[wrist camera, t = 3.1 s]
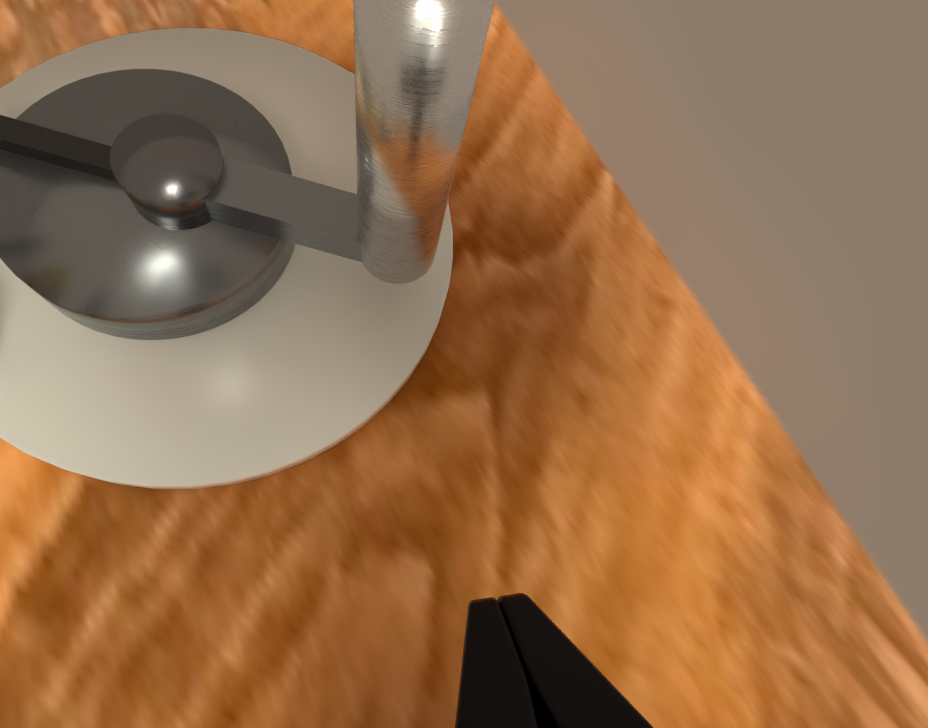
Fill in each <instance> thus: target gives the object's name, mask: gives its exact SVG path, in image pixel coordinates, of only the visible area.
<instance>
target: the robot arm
mask: <svg viewBox="0 0 928 728" xmlns="http://www.w3.org/2000/svg"><path fill="white" fill-rule="evenodd" d="M455 728H653V727H652V726H651V725H650V723H649V722H648V721H647V720H646V719H645V718H644V717H643V716H642V715H641V714H640V713H639V712H638V711H637V710H636V709H635V708H634V707H633V706H632V705H631V704H630V702H629V701H628V700H627V699H626V698H625V697H624V696H623V695H622V694H621V693H620V692H619V691H618V690H617V689H616V688H615V687H614V686H613V685H612V684H611V683H610V682H609V680H608V679H607V678H606V677H605V676H604V675H603V674H602V673H601V672H600V671H599V670H598V669H597V668H596V667H595V666H594V665H593V664H592V663H591V662H590V661H589V659H588V658H587V657H586V656H585V655H584V654H583V653H582V652H581V651H580V650H579V649H578V648H577V647H576V646H575V645H574V644H573V643H572V642H571V641H570V640H569V638H568V637H567V636H566V635H565V634H564V633H563V632H562V631H561V630H560V629H559V628H558V627H557V626H556V625H555V624H554V623H553V622H552V621H551V620H550V619H549V617H548V616H547V615H546V614H545V613H544V612H543V611H542V610H541V609H540V608H539V607H538V606H537V605H536V604H535V603H534V602H533V601H532V600H531V599H530V598H529V597H528V596H527V595H525V594H523V593H518V594H511V595H505V596H501V597H499V598H498V600H496V599H495V598H492V597H491V598H484V599H477V600H472V601H470V603H469V605H468V613H467V622H466V631H465V640H464V649H463V659H462V668H461V677H460V686H459V695H458V704H457V713H456V723H455Z"/></svg>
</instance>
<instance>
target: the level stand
mask: <svg viewBox="0 0 928 728" xmlns="http://www.w3.org/2000/svg"><path fill="white" fill-rule="evenodd" d="M128 69H161V70H170V71H177V72H182V73H186V74H191V75H195V76H198V77H201V78H204V79H207V80H210V81H212V82H215V83H217V84H219V85H221V86H224V87H226V88H227V89H229V90H231V91H233V92H234V93H236V94H238V95H239V96H241V97H242V98H244V99H245V100H246V101H248V102H249V103H250V104H252V105H253V106H254V107H255V108H256V109H257V110H258V111H259V112H260V113H261V114H262V115H263V116H264V117H265V118H266V119H267V120H268V122H269V123H270V124H271V125H272V127H273V128H274V129H275V131H276V133H277V134H278V136H279V138H280V140H281V141H282V143H283V146H284V148H285V151H286V153H287V156H288V159H289V163H290V167H291V172H292V176H295V177H299V178H302V179H306V180H309V181H313V182H316V183H320V184H323V185H327V186H330V187H334V188H337V189H341V190H344V191H348V192H351V193H354V194H357V166H356V111H355V75H354V74H353V73H351V72H349V71H348V70H346V69H344V68H342V67H341V66H339V65H337V64H336V63H334V62H332V61H330V60H328V59H326V58H324V57H322V56H319V55H317V54H315V53H313V52H310V51H308V50H306V49H304V48H301V47H298V46H295V45H292V44H289V43H286V42H282V41H279V40H276V39H273V38H268V37H264V36H259V35H255V34H250V33H245V32H238V31H230V30H221V29H210V28H174V29H160V30H148V31H143V32H137V33H131V34H125V35H120V36H115V37H112V38H108V39H104V40H101V41H97V42H94V43H90V44H86V45H84V46H81V47H78V48H76V49H73V50H71V51H68V52H66V53H63V54H61V55H58V56H55V57H53V58H51V59H50V60H48V61H46V62H44V63H42V64H40V65H38V66H36V67H34V68H32V69H30V70H28V71H26V72H25V73H23V74H22V75H20V76H19V77H17V78H16V79H14V80H13V81H11V82H10V83H8V84H7V85H5V86H4V87H2V88H1V89H0V115H3V116H6V117H10V118H13V119H16V118H17V117H18V116H19V115H21V114H22V113H23V112H24V111H25V110H26V109H27V108H28V107H30V106H31V105H32V104H34V103H35V102H37V101H38V100H40V99H41V98H43V97H44V96H46V95H47V94H49V93H51V92H53V91H55V90H57V89H59V88H60V87H62V86H65V85H67V84H70V83H72V82H75V81H77V80H80V79H83V78H86V77H90V76H93V75H97V74H101V73H106V72H112V71H117V70H128ZM452 262H453V229H452V223H451V216H450V210H449V204H448V203H447V207H446V211H445V215H444V220H443V224H442V228H441V233H440V237H439V241H438V245H437V250H436V254H435V258H434V261H433V264H432V266H431V268H430V269H429V270H428V272H427V273H426V274H425V275H423V276H422V277H421V278H419V279H417V280H415V281H413V282H409V283H404V284H393V283H388V282H384V281H382V280H380V279H378V278H376V277H374V276H373V275H372V274H370V273H369V272H368V271H367V270H366V268H365V267H364V266H363V264H362V262H359V261H356V260H352V259H348V258H345V257H341V256H338V255H334V254H330V253H327V252H323V251H320V250H316V249H313V248H309V247H305V246H302V245H298V244H295V248H294V251H293V253H292V256H291V258H290V261H289V263H288V265H287V267H286V268H285V270H284V272H283V274H282V275H281V277H280V278H279V280H278V281H277V282H276V283H275V285H274V286H273V287H272V289H271V290H270V291H269V292H268V293H267V294H266V295H265V296H264V297H263V298H262V299H261V300H260V301H259V302H257V303H256V304H255V305H254V306H252V307H251V308H250V309H248V310H247V311H246V312H244V313H243V314H241V315H239V316H238V317H236V318H234V319H232V320H231V321H229V322H227V323H225V324H222V325H220V326H218V327H216V328H213V329H211V330H208V331H205V332H201V333H198V334H195V335H191V336H186V337H181V338H175V339H165V340H134V339H128V338H121V337H115V336H111V335H108V334H104V333H101V332H97V331H95V330H92V329H90V328H88V327H85V326H83V325H81V324H79V323H77V322H75V321H74V320H72V319H70V318H69V317H67V316H65V315H64V314H62V313H61V312H60V311H59V310H57V309H56V308H55V307H54V306H52V305H51V304H50V303H49V302H47V301H46V300H45V299H44V298H43V297H41V296H40V295H39V294H38V293H36V292H35V291H34V290H33V289H32V288H30V287H29V286H28V285H27V284H25V283H24V282H23V281H22V280H21V279H19V278H18V277H17V276H16V275H15V274H14V273H13V272H12V271H11V270H10V269H9V268H8V267H7V266H6V265H5V263H4V262H3V261H2V260H1V258H0V438H1V439H3V440H4V441H6V442H8V443H9V444H11V445H13V446H14V447H16V448H18V449H19V450H21V451H23V452H24V453H26V454H28V455H31V456H33V457H35V458H38V459H40V460H42V461H45V462H47V463H50V464H52V465H54V466H57V467H59V468H62V469H64V470H67V471H71V472H74V473H77V474H81V475H84V476H88V477H92V478H95V479H99V480H103V481H107V482H111V483H114V484H118V485H126V486H133V487H141V488H149V489H157V490H196V489H204V488H212V487H220V486H228V485H235V484H239V483H243V482H247V481H251V480H255V479H259V478H263V477H267V476H271V475H273V474H276V473H278V472H281V471H284V470H286V469H289V468H291V467H294V466H297V465H299V464H302V463H304V462H306V461H308V460H310V459H312V458H314V457H316V456H318V455H319V454H321V453H323V452H325V451H327V450H329V449H331V448H333V447H334V446H336V445H338V444H339V443H340V442H342V441H343V440H345V439H346V438H348V437H349V436H350V435H352V434H353V433H355V432H356V431H357V430H359V429H360V428H362V427H363V426H364V425H366V424H367V423H368V422H369V421H370V420H371V419H372V418H373V417H374V416H375V415H376V414H378V413H379V412H380V411H381V410H382V409H383V408H384V407H385V406H386V405H387V404H388V403H389V402H390V401H391V400H392V399H393V398H394V396H395V395H396V394H397V393H398V392H399V390H400V389H401V388H402V387H403V386H404V384H405V383H406V382H407V381H408V380H409V378H410V377H411V375H412V373H413V372H414V370H415V369H416V367H417V366H418V364H419V362H420V361H421V359H422V358H423V356H424V354H425V353H426V350H427V348H428V346H429V344H430V341H431V339H432V337H433V335H434V333H435V330H436V328H437V326H438V322H439V319H440V316H441V313H442V309H443V306H444V302H445V299H446V295H447V292H448V288H449V284H450V276H451V269H452Z"/></svg>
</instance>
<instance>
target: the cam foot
mask: <svg viewBox="0 0 928 728" xmlns="http://www.w3.org/2000/svg"><path fill="white" fill-rule="evenodd" d="M353 2H354V56H355V111H356V166H357V194H354V193H351V192H348V191H344V190H341V189H337V188H334V187H330V186H327V185H323V184H320V183H316V182H313V181H309V180H306V179H302V178H299V177H295V176H292V172H291V167H290V163H289V159H288V156H287V153H286V151H285V148H284V146H283V143H282V141H281V140H280V138H279V136H278V134H277V133H276V131H275V129H274V128H273V127H272V125H271V124H270V123H269V122H268V120H267V119H266V118H265V117H264V116H263V115H262V114H261V113H260V112H259V111H258V110H257V109H256V108H255V107H254V106H253V105H252V104H250V103H249V102H248V101H246V100H245V99H244V98H242V97H241V96H239V95H238V94H236V93H234V92H233V91H231V90H229V89H227V88H226V87H224V86H221V85H219V84H217V83H215V82H212V81H210V80H207V79H204V78H201V77H198V76H195V75H191V74H186V73H182V72H177V71H170V70H161V69H128V70H117V71H112V72H106V73H101V74H97V75H93V76H90V77H86V78H83V79H80V80H77V81H75V82H72V83H70V84H67V85H65V86H62V87H60V88H59V89H57V90H55V91H53V92H51V93H49V94H47V95H46V96H44V97H43V98H41V99H40V100H38V101H37V102H35V103H34V104H32V105H31V106H30V107H28V108H27V109H26V110H25V111H24V112H23V113H22V114H21V115H19V116H18V117H17V118H16V119H13V118H10V117H6V116H3V115H0V258H1V260H2V261H3V262H4V263H5V265H6V266H7V267H8V268H9V269H10V270H11V271H12V272H13V273H14V274H15V275H16V276H17V277H18V278H19V279H21V280H22V281H23V282H24V283H25V284H27V285H28V286H29V287H30V288H32V289H33V290H34V291H35V292H36V293H38V294H39V295H40V296H41V297H43V298H44V299H45V300H46V301H47V302H49V303H50V304H51V305H52V306H54V307H55V308H56V309H57V310H59V311H60V312H61V313H62V314H64V315H65V316H67V317H69V318H70V319H72V320H74V321H75V322H77V323H79V324H81V325H83V326H85V327H88V328H90V329H92V330H95V331H97V332H101V333H104V334H108V335H111V336H115V337H121V338H128V339H134V340H165V339H175V338H181V337H186V336H191V335H195V334H198V333H201V332H205V331H208V330H211V329H213V328H216V327H218V326H220V325H222V324H225V323H227V322H229V321H231V320H232V319H234V318H236V317H238V316H239V315H241V314H243V313H244V312H246V311H247V310H248V309H250V308H251V307H252V306H254V305H255V304H256V303H257V302H259V301H260V300H261V299H262V298H263V297H264V296H265V295H266V294H267V293H268V292H269V291H270V290H271V289H272V287H273V286H274V285H275V283H276V282H277V281H278V280H279V278H280V277H281V275H282V274H283V272H284V270H285V268H286V267H287V265H288V263H289V261H290V258H291V256H292V253H293V251H294V248H295V244H298V245H302V246H305V247H309V248H313V249H316V250H320V251H323V252H327V253H330V254H334V255H338V256H341V257H345V258H348V259H352V260H356V261H359V262H362V264H363V266H364V267H365V268H366V270H367V271H368V272H369V273H370V274H372V275H373V276H374V277H376V278H378V279H380V280H382V281H384V282H388V283H393V284H404V283H409V282H413V281H415V280H417V279H419V278H421V277H422V276H423V275H425V274H426V273H427V272H428V270H429V269H430V268H431V266H432V264H433V261H434V258H435V254H436V250H437V245H438V241H439V237H440V233H441V228H442V224H443V220H444V215H445V211H446V207H447V203H448V198H449V194H450V190H451V186H452V181H453V177H454V173H455V168H456V164H457V160H458V156H459V151H460V147H461V143H462V138H463V134H464V130H465V126H466V121H467V117H468V113H469V109H470V104H471V100H472V96H473V91H474V87H475V83H476V79H477V74H478V70H479V66H480V62H481V57H482V53H483V49H484V44H485V40H486V36H487V32H488V27H489V23H490V19H491V14H492V10H493V6H494V2H495V0H353Z"/></svg>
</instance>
